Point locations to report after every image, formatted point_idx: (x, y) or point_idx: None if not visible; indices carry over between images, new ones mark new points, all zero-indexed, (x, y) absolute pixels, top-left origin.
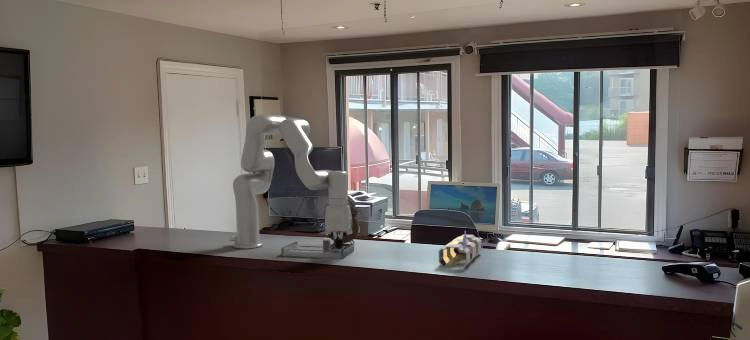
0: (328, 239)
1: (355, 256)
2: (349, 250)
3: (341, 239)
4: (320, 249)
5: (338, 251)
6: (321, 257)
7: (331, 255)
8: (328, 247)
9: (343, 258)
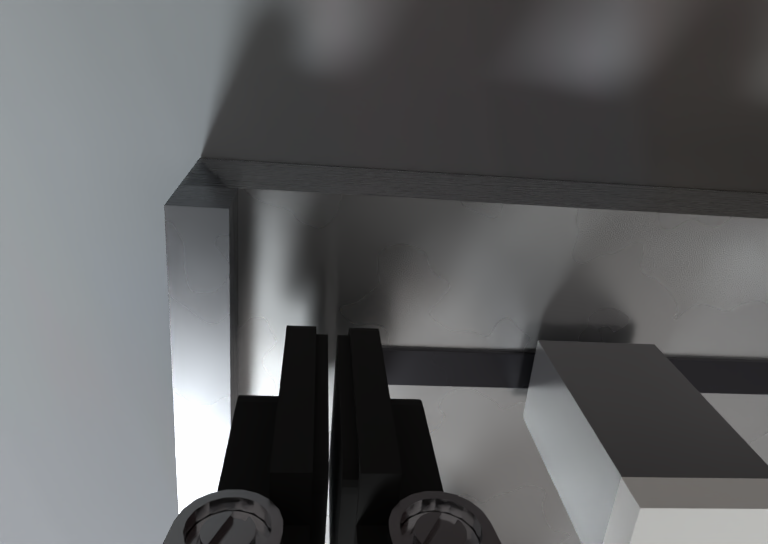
0: (643, 499)
1: (51, 363)
2: None
3: (234, 516)
4: None
5: None
6: (626, 186)
7: (444, 188)
8: (567, 375)
9: (199, 165)
